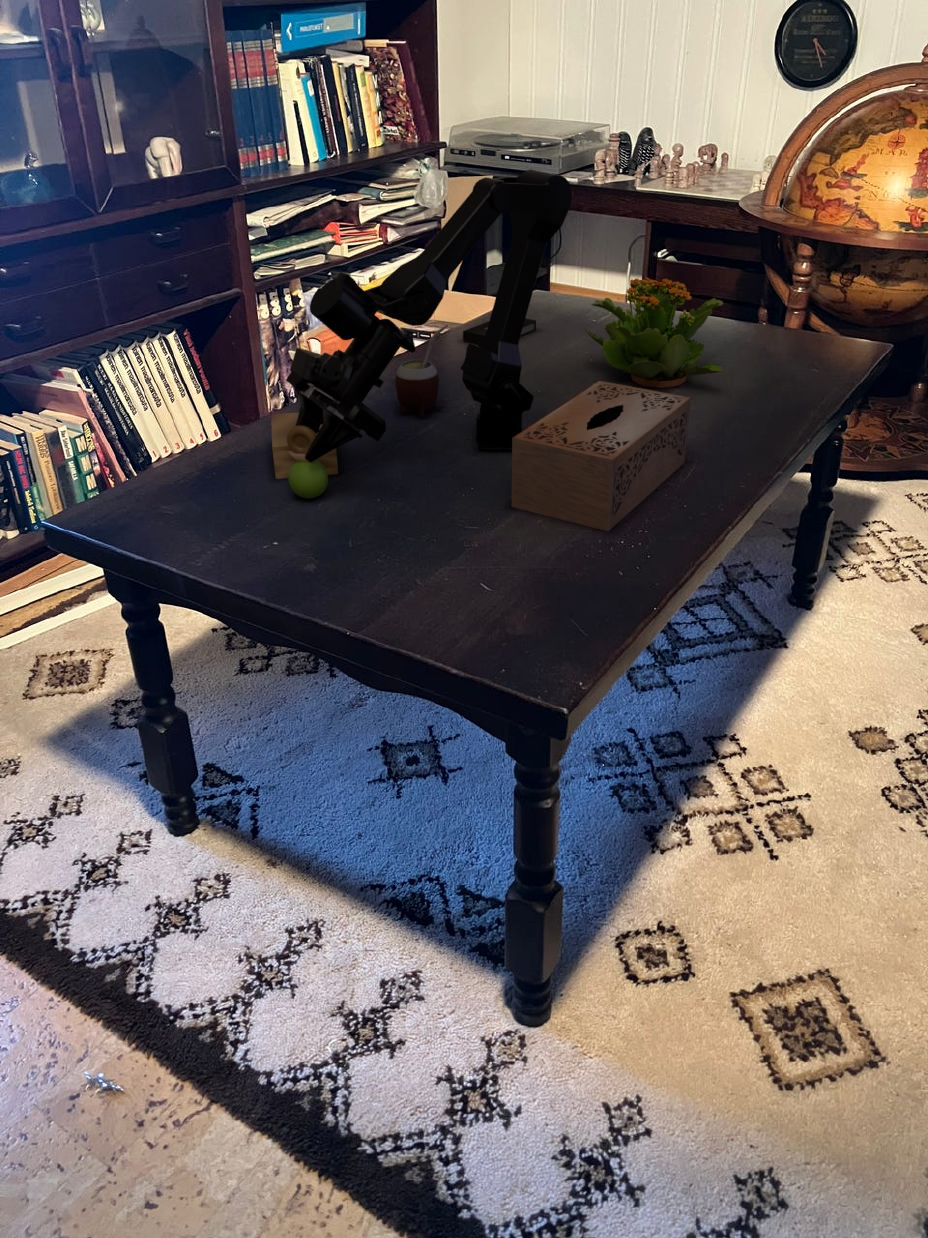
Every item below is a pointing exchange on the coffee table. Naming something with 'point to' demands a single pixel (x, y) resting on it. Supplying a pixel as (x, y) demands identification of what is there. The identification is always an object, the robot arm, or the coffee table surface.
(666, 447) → the tissue box cover
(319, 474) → the snail figurine
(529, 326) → the vhs tape
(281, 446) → the tan rectangular block
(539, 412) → the coffee table surface
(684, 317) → the potted flower
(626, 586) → the coffee table surface
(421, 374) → the mate gourd
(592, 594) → the coffee table surface
